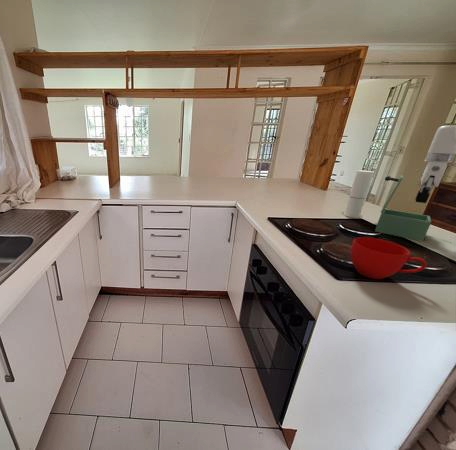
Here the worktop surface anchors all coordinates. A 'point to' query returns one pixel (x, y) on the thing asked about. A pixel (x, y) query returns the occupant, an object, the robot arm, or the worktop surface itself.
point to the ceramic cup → (380, 258)
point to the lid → (392, 190)
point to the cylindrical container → (358, 193)
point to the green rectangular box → (403, 224)
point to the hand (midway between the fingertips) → (420, 200)
